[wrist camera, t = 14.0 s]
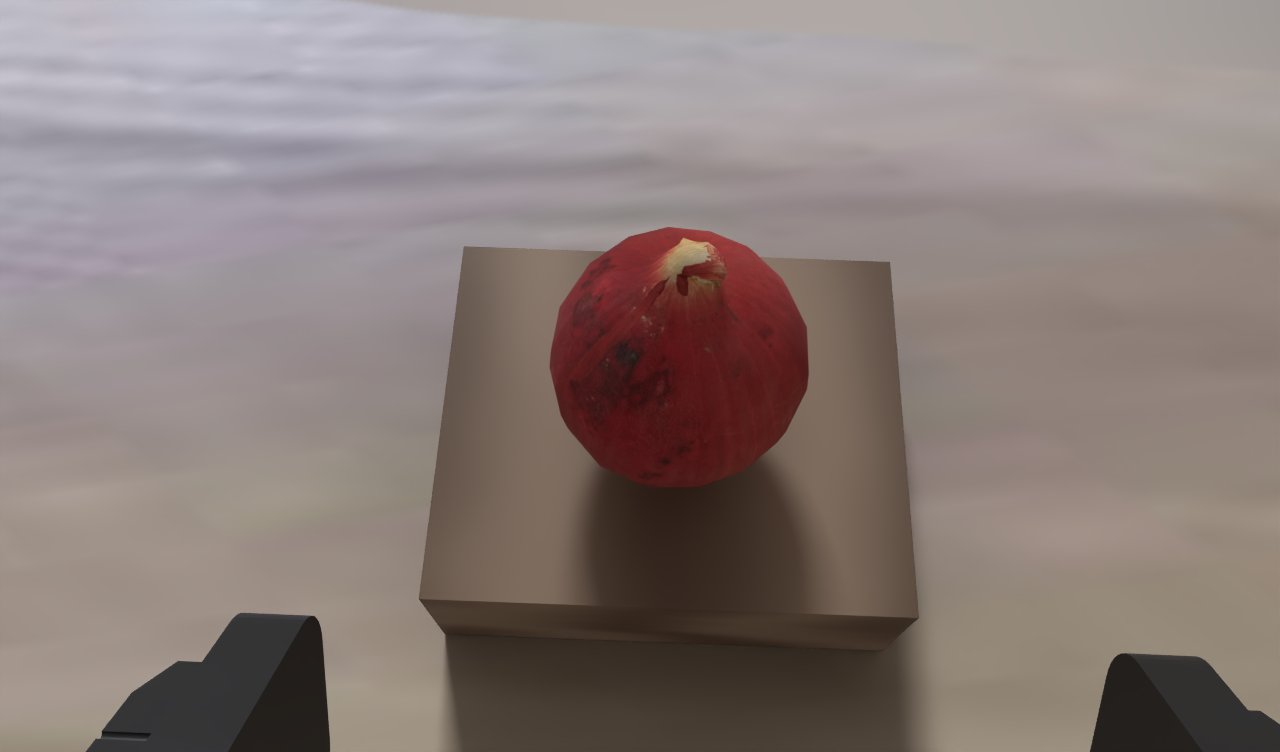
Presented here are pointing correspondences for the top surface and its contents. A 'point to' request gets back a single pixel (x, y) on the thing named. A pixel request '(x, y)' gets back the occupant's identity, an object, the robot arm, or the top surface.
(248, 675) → the robot arm
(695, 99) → the top surface
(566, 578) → the plinth
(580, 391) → the pomegranate
